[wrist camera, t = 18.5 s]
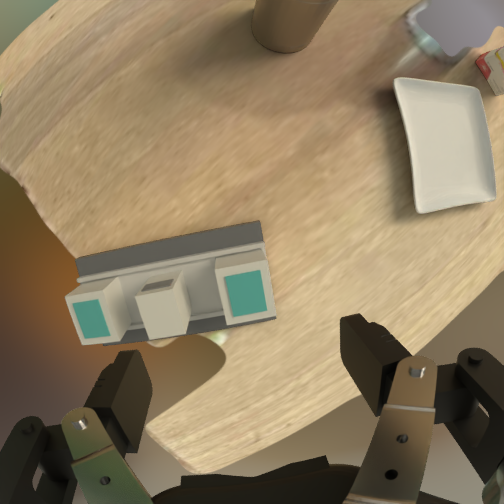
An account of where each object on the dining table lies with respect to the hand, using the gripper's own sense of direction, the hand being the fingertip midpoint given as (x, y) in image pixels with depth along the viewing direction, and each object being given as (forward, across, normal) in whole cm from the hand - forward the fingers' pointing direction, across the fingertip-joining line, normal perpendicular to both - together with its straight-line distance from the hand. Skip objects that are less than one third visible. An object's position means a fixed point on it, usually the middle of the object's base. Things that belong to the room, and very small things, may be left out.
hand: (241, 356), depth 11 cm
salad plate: (+32, -38, -9) cm, 50 cm away
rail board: (+31, +9, +7) cm, 33 cm away
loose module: (+29, +9, +7) cm, 31 cm away
